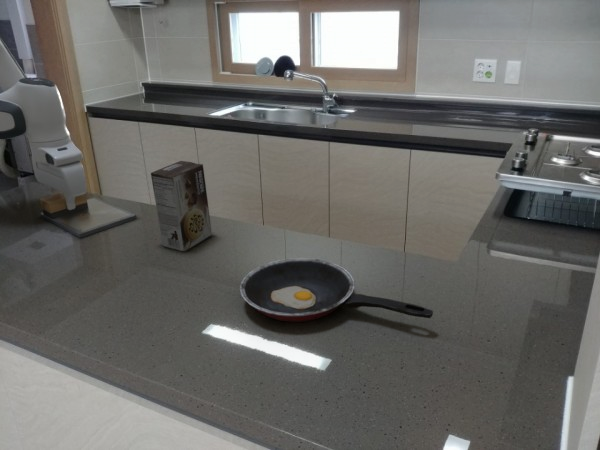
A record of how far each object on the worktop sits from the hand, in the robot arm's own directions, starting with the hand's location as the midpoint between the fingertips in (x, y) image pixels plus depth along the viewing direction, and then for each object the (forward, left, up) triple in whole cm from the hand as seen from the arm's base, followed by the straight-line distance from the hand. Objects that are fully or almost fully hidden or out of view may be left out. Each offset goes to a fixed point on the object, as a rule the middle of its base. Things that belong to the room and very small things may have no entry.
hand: (64, 205), depth 129 cm
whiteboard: (+6, +3, -2) cm, 7 cm away
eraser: (0, 0, -1) cm, 1 cm away
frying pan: (+77, +9, -3) cm, 78 cm away
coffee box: (+36, +10, -3) cm, 37 cm away
